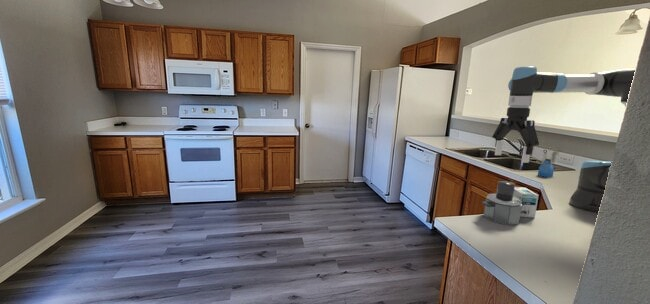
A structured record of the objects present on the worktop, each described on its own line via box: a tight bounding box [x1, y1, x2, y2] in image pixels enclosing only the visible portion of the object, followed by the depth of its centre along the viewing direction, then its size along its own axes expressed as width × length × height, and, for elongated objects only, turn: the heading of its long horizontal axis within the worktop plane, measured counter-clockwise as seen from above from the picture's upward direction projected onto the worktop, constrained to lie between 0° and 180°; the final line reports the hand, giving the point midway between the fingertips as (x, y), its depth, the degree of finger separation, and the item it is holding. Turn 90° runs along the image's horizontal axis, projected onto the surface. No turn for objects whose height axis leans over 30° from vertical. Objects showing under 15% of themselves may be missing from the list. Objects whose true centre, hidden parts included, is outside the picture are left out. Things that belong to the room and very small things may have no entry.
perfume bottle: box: [537, 158, 555, 179], centre depth 185 cm, size 6×6×12 cm
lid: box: [486, 180, 522, 206], centre depth 116 cm, size 12×12×10 cm
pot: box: [481, 196, 525, 226], centre depth 117 cm, size 18×13×8 cm
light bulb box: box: [513, 186, 540, 219], centre depth 123 cm, size 11×7×11 cm, turn 169°
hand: (510, 158), depth 113 cm, fingers open, 13 cm apart
